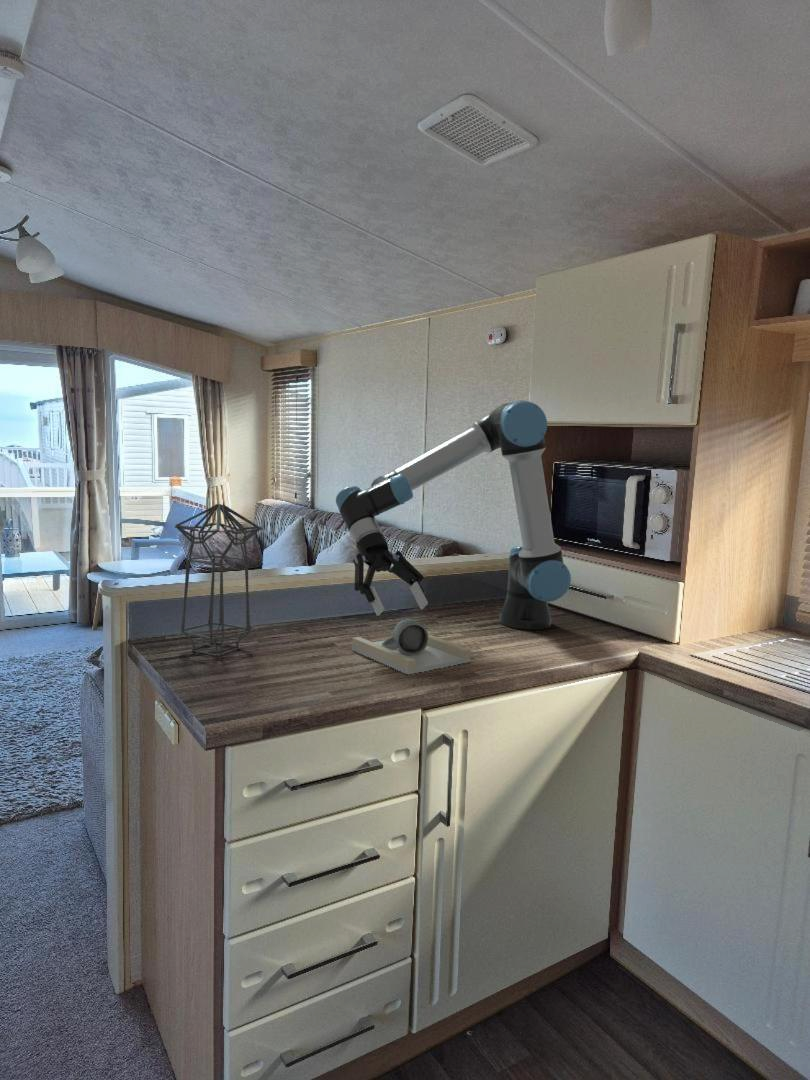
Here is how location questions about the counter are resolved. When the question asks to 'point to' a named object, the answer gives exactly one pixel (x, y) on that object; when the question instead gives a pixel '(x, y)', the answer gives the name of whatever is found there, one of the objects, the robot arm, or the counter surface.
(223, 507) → the geometric lantern
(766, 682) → the counter surface
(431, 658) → the rail tray
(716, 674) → the counter surface
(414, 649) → the ceramic mug
